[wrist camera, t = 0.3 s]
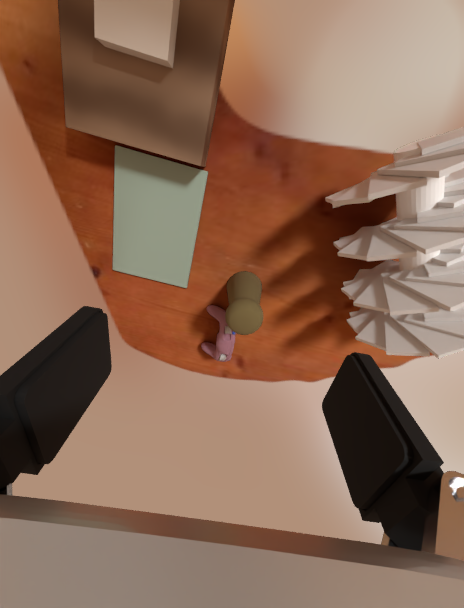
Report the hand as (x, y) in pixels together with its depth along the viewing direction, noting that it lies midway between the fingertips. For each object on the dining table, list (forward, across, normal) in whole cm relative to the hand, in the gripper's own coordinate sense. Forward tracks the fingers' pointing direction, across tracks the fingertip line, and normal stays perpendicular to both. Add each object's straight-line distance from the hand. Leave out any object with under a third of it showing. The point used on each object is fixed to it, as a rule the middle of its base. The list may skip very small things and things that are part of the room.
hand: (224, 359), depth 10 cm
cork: (+31, -3, +10) cm, 32 cm away
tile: (+26, +13, -19) cm, 35 cm away
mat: (+30, +12, +3) cm, 33 cm away
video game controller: (+31, 0, +19) cm, 36 cm away
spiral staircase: (+31, -22, -1) cm, 38 cm away
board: (+30, +13, -17) cm, 37 cm away
